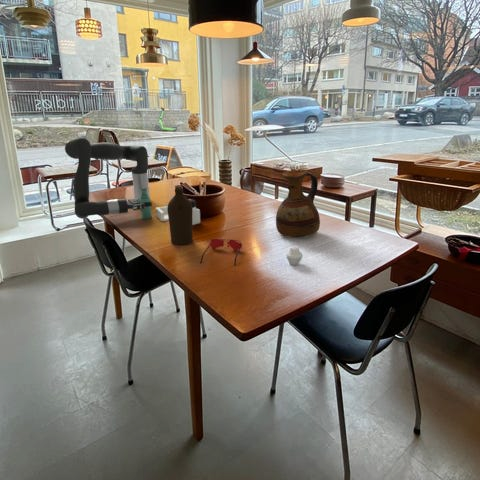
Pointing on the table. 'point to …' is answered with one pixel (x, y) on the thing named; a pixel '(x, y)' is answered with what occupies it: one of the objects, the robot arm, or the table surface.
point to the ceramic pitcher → (298, 207)
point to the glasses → (219, 242)
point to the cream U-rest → (162, 213)
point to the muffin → (294, 256)
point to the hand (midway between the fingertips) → (150, 202)
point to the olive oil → (180, 218)
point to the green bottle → (147, 210)
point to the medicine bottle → (195, 213)
